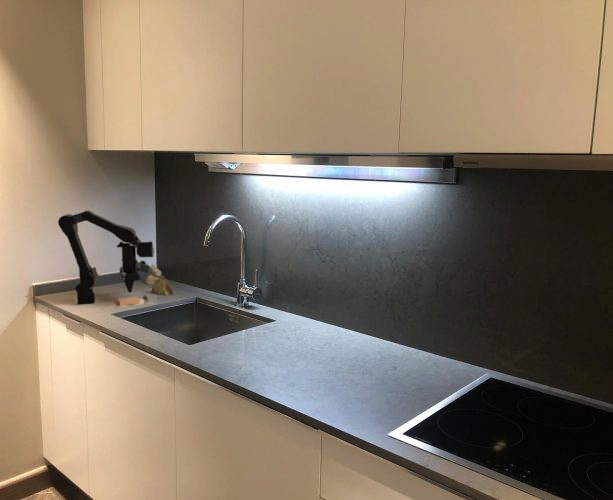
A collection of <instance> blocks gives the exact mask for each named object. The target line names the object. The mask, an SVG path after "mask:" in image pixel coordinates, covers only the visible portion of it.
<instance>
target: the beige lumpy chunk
mask: <svg viewBox="0 0 613 500" xmlns="http://www.w3.org/2000/svg"><path fill="white" fill-rule="evenodd" d="M149 266H150V268H149V271H150V274H149V275H148V276H147V277H146V278H145V280H144V284H147V285H154V283H155V282H156V281H157V280H158V279H159V278H160V277H161V275H162V274H163V273H162V270H160V269H158V268H157V266H156V265H155V264H151V265H149Z"/></svg>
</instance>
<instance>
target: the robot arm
mask: <svg viewBox="0 0 613 500" xmlns="http://www.w3.org/2000/svg"><path fill="white" fill-rule="evenodd" d="M85 221H86V222H89V223H91V224H93V225H95V226H97V227H99V228H101V229H103V230H105V231H108V232H110V233H112V234H113V235H114V236H115V237H116V238H117V239H119V240H120V242H119V244H117V245H116V247H117V248H121V259H120V261H121V266H120V267H119V269H118V270H119V274H120V275H121V274H123V275H121V278H122V280H123V282H124V285H125V288H126V289H127V291H128V293H132V290H133V287H134V284H135V283H134V282H135V281H139V280H141V275H140V273H138V272H142V273H145V274H148V273H149V271H150V269H149V268H150V266H151V265H149V264H148V263H146V261H145V260H140V262H139V261H138V260H137V256H139V258H154V257H155V256H154V254H155V251H154V250H155V248H154V244H153V241H142V240H141V239H139V237H138V235H137V233H136V230H135V229H134V228H132V227H128V226H125V225H121V224H117V223H115V222H113V221H111V220H109V219H107V218H104V217H103V216H100V215H98V214H96V213H94V212H92V211H91V210H89V209H87V210H84V211H83V212H80V213H75V214H70V213H69V214H65V215H62V216H60V217H59V218H58V221H57V224H58V226H59V228H60V230H61V231H62V233H63V234H64V236H65V237H67V240H68V242H69V245H70V248H71V250H72V252H73V255H74V259H75V261H76V264H77V266H78V272H79V273H78V274H79V281H80V282H79V283H78V284H76V286H75V288H74V289H75V292H76V298H77V299H76V300H77V301H76V304H77V306H78V307H79V306H82V305H83V306H84V305H92V304H93V305H94V304H95V302H96V301H95V300H96V296H95V291H94V290H93V287H94V285H95V284H97V282H98V279H99V276H100V275H99V273H98V272H97V268H96V267H92V265H90V263H89V260H88V258H87V254H86V251H85V249H84V247H83V244H82V242H81V239H80V235H79V232H78V231H79V229H78V224H79V223H83V222H85Z"/></svg>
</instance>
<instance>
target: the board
mask: <svg viewBox="0 0 613 500" xmlns="http://www.w3.org/2000/svg"><path fill="white" fill-rule="evenodd" d="M147 298H148V299H149V300H151V299H150V297H147ZM138 299H139V304H130V305H120V304H119V303H118V300H112V301H111V304H112V305H113V307H114V308H118V307H119V308H120V307H129V306H139V305H140V306H143V305H147V304H146V303H145V302H144V300H145V298H144V297H143V298H138ZM150 305H153V302H152V303H151V304H150Z"/></svg>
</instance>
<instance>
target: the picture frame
mask: <svg viewBox="0 0 613 500" xmlns="http://www.w3.org/2000/svg"><path fill="white" fill-rule="evenodd" d="M139 299H140V298H138V297H137V296H133V297H132V296H131V297H123V298H120V297H119V298H117V301H118V303H119V304H120V305H130V304H139Z"/></svg>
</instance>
